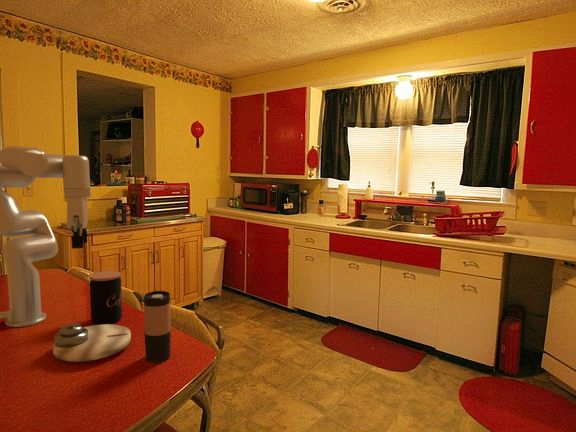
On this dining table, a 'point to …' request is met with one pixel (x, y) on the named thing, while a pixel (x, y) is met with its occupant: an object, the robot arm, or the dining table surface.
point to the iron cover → (71, 336)
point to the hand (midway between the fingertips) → (80, 245)
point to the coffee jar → (105, 297)
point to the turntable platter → (96, 344)
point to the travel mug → (157, 326)
